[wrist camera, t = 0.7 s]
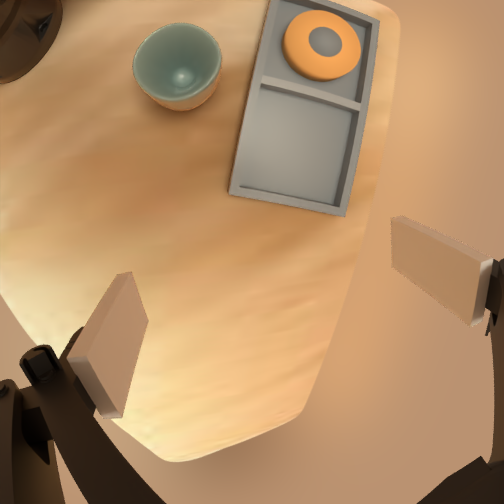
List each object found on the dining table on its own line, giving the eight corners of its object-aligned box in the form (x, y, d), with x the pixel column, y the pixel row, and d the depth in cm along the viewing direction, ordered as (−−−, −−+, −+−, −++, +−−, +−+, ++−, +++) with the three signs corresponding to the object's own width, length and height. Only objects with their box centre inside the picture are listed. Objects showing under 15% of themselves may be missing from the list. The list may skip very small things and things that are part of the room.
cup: (184, 43, 30) (176, 8, 21) (232, 80, 32) (240, 55, 23) (139, 90, 31) (114, 69, 22) (187, 128, 33) (177, 118, 24)
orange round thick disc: (267, 31, 30) (272, 22, 27) (328, 11, 30) (337, 2, 27) (304, 92, 33) (312, 87, 30) (362, 68, 33) (374, 63, 30)
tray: (271, -7, 29) (274, -15, 26) (371, 26, 31) (379, 20, 29) (227, 191, 36) (228, 194, 34) (337, 213, 39) (344, 217, 36)
